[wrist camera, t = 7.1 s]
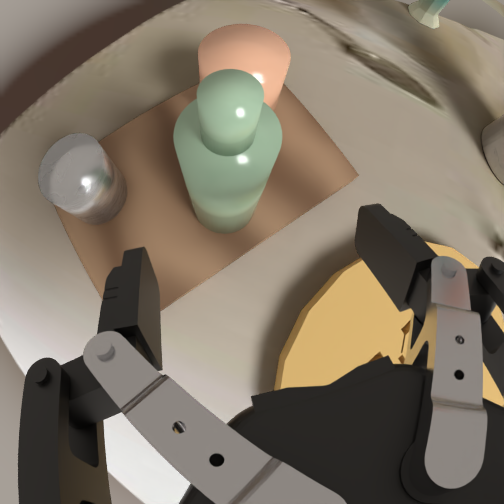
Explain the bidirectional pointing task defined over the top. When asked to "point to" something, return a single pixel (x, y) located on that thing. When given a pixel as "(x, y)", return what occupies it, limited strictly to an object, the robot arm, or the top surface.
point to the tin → (82, 179)
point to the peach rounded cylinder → (247, 56)
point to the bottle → (227, 148)
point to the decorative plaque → (355, 330)
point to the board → (179, 204)
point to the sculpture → (427, 11)
